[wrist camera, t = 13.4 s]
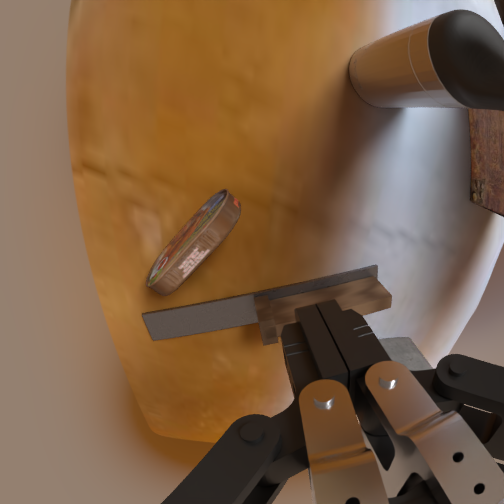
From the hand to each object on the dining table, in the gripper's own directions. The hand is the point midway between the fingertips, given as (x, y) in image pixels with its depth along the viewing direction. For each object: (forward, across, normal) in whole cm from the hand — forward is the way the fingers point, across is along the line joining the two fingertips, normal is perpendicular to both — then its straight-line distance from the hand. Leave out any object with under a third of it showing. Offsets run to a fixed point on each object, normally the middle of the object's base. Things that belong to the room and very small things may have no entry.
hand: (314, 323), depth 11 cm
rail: (+29, +1, +18) cm, 34 cm away
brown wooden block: (+29, -7, +18) cm, 35 cm away
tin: (+29, +8, +5) cm, 31 cm away
